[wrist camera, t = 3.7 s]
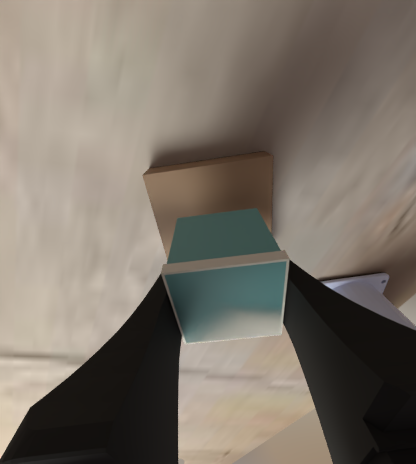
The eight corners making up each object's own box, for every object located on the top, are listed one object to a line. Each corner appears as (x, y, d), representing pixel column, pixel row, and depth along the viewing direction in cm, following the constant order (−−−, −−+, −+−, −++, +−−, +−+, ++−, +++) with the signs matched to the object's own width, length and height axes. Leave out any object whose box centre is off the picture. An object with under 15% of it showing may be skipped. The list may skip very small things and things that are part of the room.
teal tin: (258, 269, 14) (281, 334, 10) (189, 277, 14) (184, 344, 10) (258, 206, 11) (289, 258, 7) (175, 216, 11) (161, 273, 7)
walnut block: (262, 245, 20) (270, 260, 18) (174, 258, 20) (171, 274, 18) (263, 150, 16) (273, 155, 14) (149, 167, 16) (142, 175, 14)
